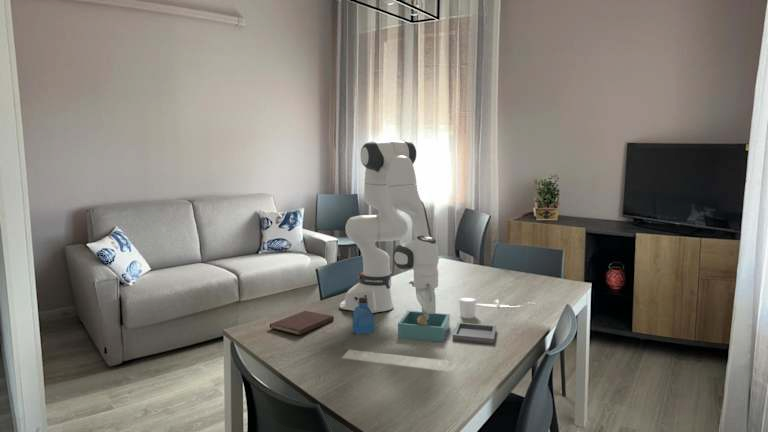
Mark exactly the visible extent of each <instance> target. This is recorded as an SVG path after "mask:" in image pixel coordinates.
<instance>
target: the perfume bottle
mask: <svg viewBox="0 0 768 432" xmlns="http://www.w3.org/2000/svg"><path fill="white" fill-rule="evenodd" d="M358 305H359V306H357V307H356V308H355V310H354V311H352V329H353V330H354V333H355V335H361V334H362V335H363V334H373V333H374V315H373V314H374V313H372V312H371V310H370V309H369V307H368V306H367V305H368V302H367V298H359V302H358Z"/></svg>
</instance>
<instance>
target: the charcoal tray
mask: <svg viewBox="0 0 768 432" xmlns="http://www.w3.org/2000/svg"><path fill="white" fill-rule="evenodd" d="M496 332H497V325H492V324H491V325H490V324H481V323H470V322H457V323H456V326H455V328H454V331H453V333H452V341H456V342H466V343H473V344H474V343H475V344H485V345H495V339H496Z"/></svg>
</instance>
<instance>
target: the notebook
mask: <svg viewBox="0 0 768 432" xmlns="http://www.w3.org/2000/svg"><path fill="white" fill-rule="evenodd" d="M334 319H335V318H334V315H331V314H325V313H324V314H323V313H317V312H314V311H309V310H303V311H301V312H298V313H295V314H293V315H289V316H287V317H284V318H282V319H279V320H276V321H274V322H272V323H270V324H269V328H270V329H274V330H277V331H281V332H285V333H287V334H293V335H296V336H297V335H298V336H301V335H303V334H305V333H308V332H309V331H312V330H315V329H317V328H319V327H321V326H324V325H326V324H328V323H330V322H333V321H334Z"/></svg>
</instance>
